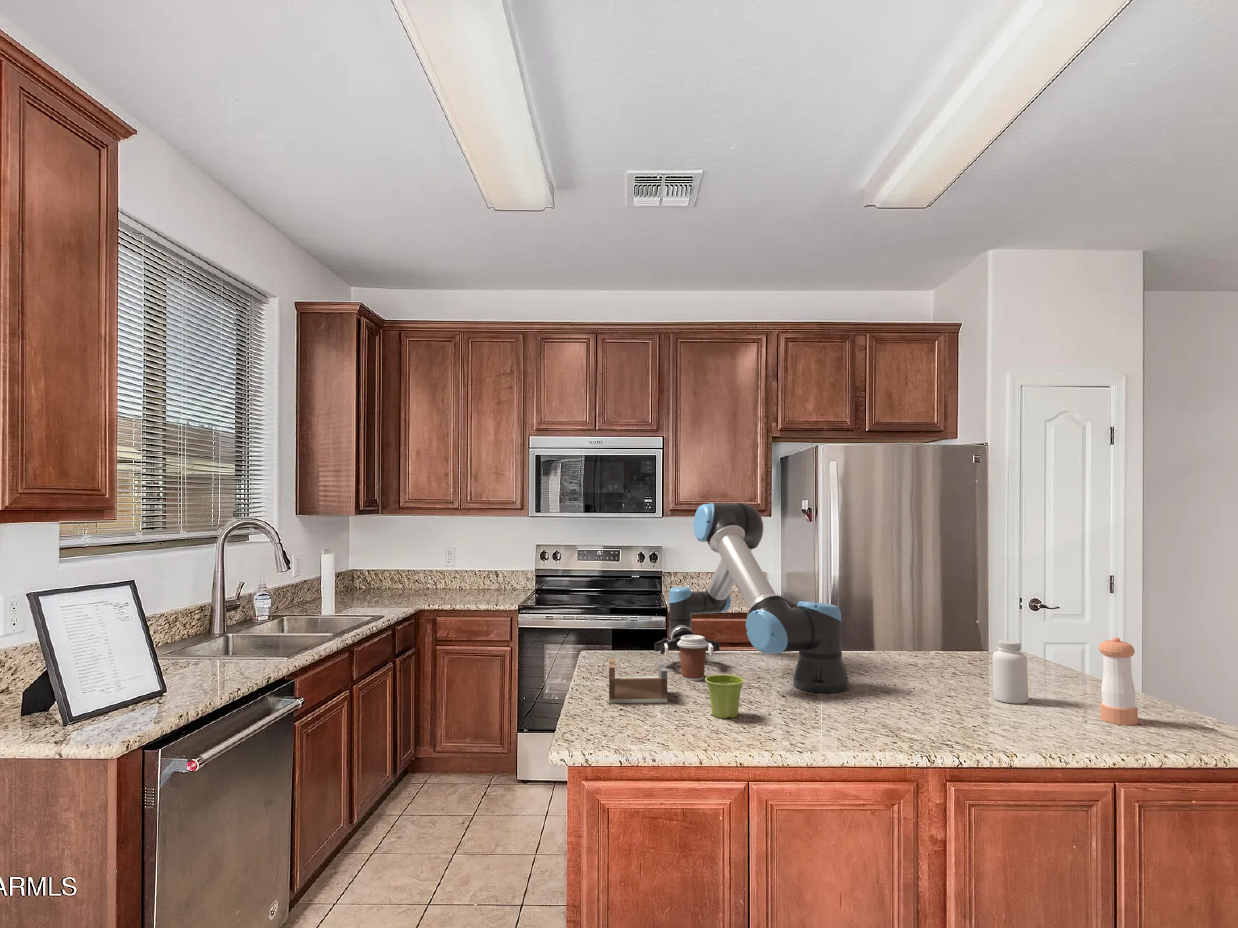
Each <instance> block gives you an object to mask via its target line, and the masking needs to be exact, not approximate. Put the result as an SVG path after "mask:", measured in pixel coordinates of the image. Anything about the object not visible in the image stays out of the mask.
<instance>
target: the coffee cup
mask: <svg viewBox="0 0 1238 928" xmlns="http://www.w3.org/2000/svg"><path fill="white" fill-rule="evenodd" d="M705 638H706V637H705V636H703V635H699V634H694V635H684V636H681V640H680V641H679V642H677V646H679V648H680V651H679V655H680V656H679V657H680V668H681V679H682V680H683V681H690V682H698V681H699V682H700V681H702V680H703V681H704V680H705V673H706V672H705V670H706V669H705V667H706V657H707V656H706V655H707V650H706V647H707V646H708V642H706V640H705Z"/></svg>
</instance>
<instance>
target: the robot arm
mask: <svg viewBox="0 0 1238 928" xmlns="http://www.w3.org/2000/svg"><path fill="white" fill-rule="evenodd" d="M693 533H694V537H695V538H696V540H697V541H699V542H702V543H705V542H706V543H707V544H708V546H709V548H710V550H711V551H713V552H714V553H718V554H719V556H720V558H721V559H720V562H719V563H718V566H717V567H716V569H715V572H714V574H713V575H712V578H711V580H710V582H709V584H708V586H707V587H706V590H705V591H692V589H691V587H687V586H672V587H671V588H670V590H669V594H668V595H669V597H668V604H669V605H668V606H669V607H668V609H669V620H668V621H669V627H668V637H669V638H670V640H669V638H668V637H663V638H662V639H660V640H657V641H656V642H655V643H654V652H660V654H661V655H665V657H666V658H668V657H669V651H670V650H671V651H672V650H675V651H678V652H680V648H679V646H677V642H679V641H680V640H681V636H684V635H695V633H694V632H693V631H692V615H703V614H705V615H706V614H719V613H724V612H725V613H726V612H727V611H729V610H730V607H731V602H732V601H731V595H730V592H731V591H732V589H733V587H734V585H735V587H737V589H738V591H739V593H740V595H741V596H742V598H743V600H744V602H745V605H746V607H747V608H748V611H747V617H746V620H745V630H747V631H746V636H747V639H748V640H749V642H750V644H751V645H752V647H753V648H754V649H755V650H756V651H758V652H760V653H763V654H766V655H767V654H774V655H776V654H777V655H779V654H782V653H789V652H798V660H797V663H796V665H795V666H796V667H795V670H794V674H793V676H792V686H793V687H794V688H797V689H798V690H802V691H806V692H813V693H828V694H829V693H840V692H841V693H842V692H844V691H845V692H846V691H847V690H849V689H850V678H849V677H848V674H847V673H848V672H847V671H846V668H845V664H844V661H843V652H842V651H843V647H842V645H843V644H842V623H843V622H842V613H841V612H842V611H841V609H840V608H839V606H837V605H835V604H829V603H824V602H819V601H818V602H816V601H809V600H808V601H807V600H806V601H805V600H800V601H797V602H798V603H797V607H791V606H790V605H789V603H788V602H787V601H786V599H785V598H784V596H782V595H779V594H776V592H775V591H774V588H773V586H772V585H771V584H770V582H769V580H768V578H767V577H766V575H765V574H764V572H763V570H762V568H761V567H760V565H759V563H758V562H757V560H756V558H755V557H754V555H753V553H752V551H753V550H755V549H757V547H758V546H759V544H760V543H761V540H762V538H763V535H764V522H763V518H762V516H761V514H760V512H758V510H757V508H755V507H753V505H750V504H748V503H745V502H744V503H743V502H739V503H738V502H737V503H734V502H733V503H732V502H731V503H727V502H725V503H722V502H721V503H720V502H719V503H717V502H715V503H714V502H711V503H704V504H701V505H700V506H698V508H697V509H696V512H695V515H694V517H693ZM705 640H706V642H708V646H707V647H706V651H707V652H708V654H709V655H710V657H714V652H719V651H720V642H719V641H715V640H712V639H709V638H707V637H705Z"/></svg>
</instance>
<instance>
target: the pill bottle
mask: <svg viewBox="0 0 1238 928" xmlns="http://www.w3.org/2000/svg"><path fill="white" fill-rule="evenodd" d="M1021 643H1022V642H1020V641H1017V640H1009V639H999V640H998V641H997V649H998V650H996V651H994V652H993V654H992V657H991V658H992V683H993V684H992V687H993V688H992V689H993V699H994V700H996V701H998V702H1001V703H1006V704H1013V705H1017V704H1018V705H1020V704H1021V705H1022V704H1026V703H1027V704H1028V703H1029V681H1028V678H1029V677H1028V659H1027V656H1026V655H1025V654H1024V652H1023V653H1022V652H1021V651H1022V644H1021Z"/></svg>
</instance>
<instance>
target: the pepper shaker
mask: <svg viewBox="0 0 1238 928" xmlns="http://www.w3.org/2000/svg"><path fill="white" fill-rule="evenodd" d="M1098 650H1099V652H1100V653H1101V654H1102V662H1103V663H1102V664H1103V667H1102V668H1103V674H1102V680H1101V687H1100V690H1101V702H1100V703H1099V709H1100V712H1099V713H1100V719H1101V720H1103V721H1104V722H1107V723H1111V724H1116V725H1121V726H1122V725H1123V726H1135V725H1138V724H1139V712H1138V711H1139V710H1138V707H1137V706H1136V689H1135V685H1134V681H1133V675H1132V674H1133V673H1132V657H1133V656H1134V655H1135V652H1136V651H1135V649H1134V646H1133V645H1132V644H1131V643H1129V642H1127V641H1123V640H1121V639H1120V638H1119V637H1112V639H1109V640H1104V641H1102V642H1101V643H1100V644H1099V646H1098Z"/></svg>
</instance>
